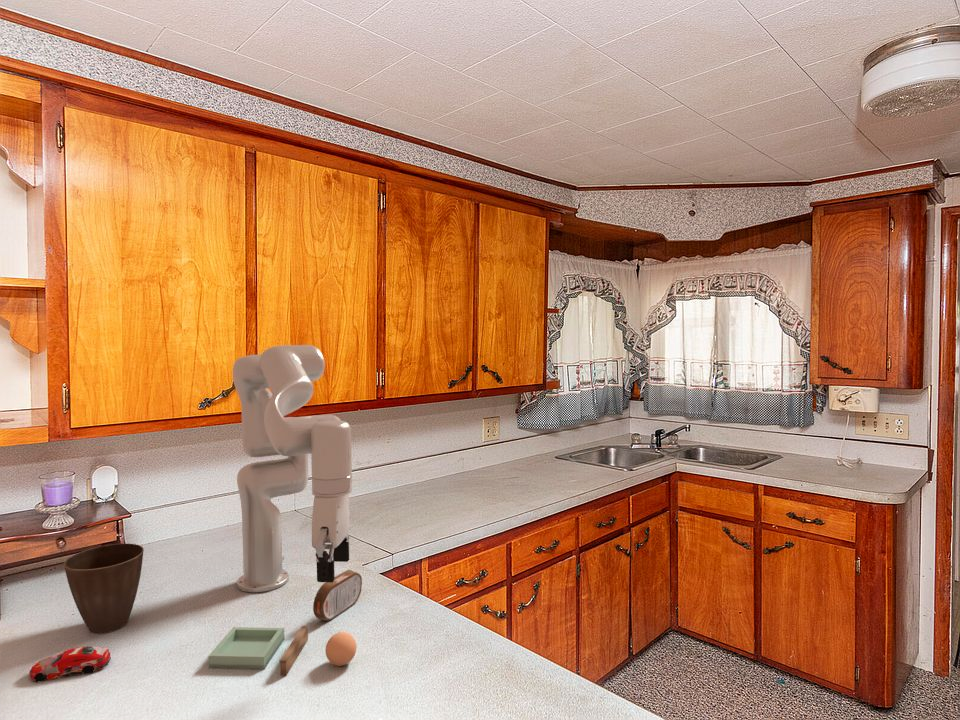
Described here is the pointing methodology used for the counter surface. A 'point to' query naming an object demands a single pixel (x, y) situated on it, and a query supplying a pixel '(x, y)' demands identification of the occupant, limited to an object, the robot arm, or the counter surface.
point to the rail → (293, 651)
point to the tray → (246, 648)
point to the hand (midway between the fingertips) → (333, 570)
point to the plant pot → (105, 584)
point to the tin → (337, 595)
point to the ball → (341, 648)
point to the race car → (71, 663)
